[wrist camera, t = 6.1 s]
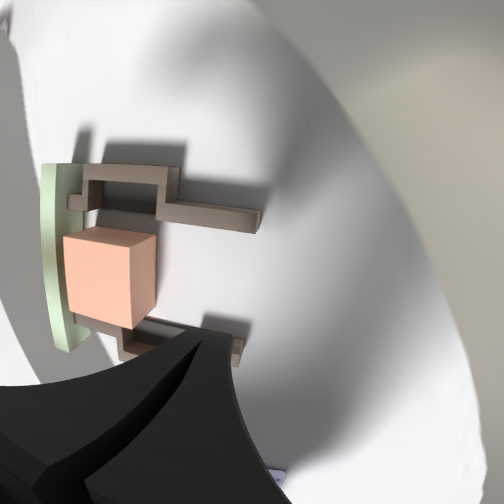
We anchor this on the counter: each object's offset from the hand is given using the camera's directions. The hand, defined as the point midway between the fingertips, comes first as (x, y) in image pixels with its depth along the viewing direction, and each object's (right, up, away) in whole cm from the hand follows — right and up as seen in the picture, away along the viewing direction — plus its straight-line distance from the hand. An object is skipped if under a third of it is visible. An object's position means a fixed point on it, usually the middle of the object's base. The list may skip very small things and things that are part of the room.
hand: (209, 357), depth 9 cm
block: (-6, +3, +7) cm, 9 cm away
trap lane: (-4, +2, +6) cm, 8 cm away
